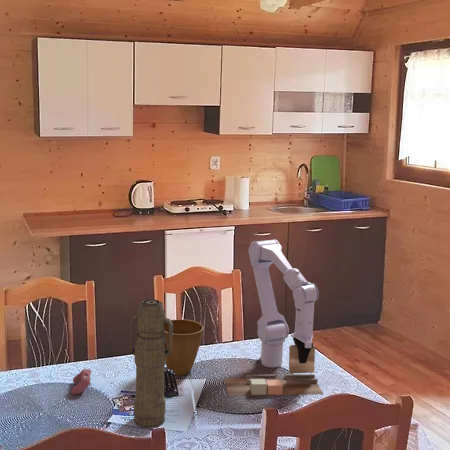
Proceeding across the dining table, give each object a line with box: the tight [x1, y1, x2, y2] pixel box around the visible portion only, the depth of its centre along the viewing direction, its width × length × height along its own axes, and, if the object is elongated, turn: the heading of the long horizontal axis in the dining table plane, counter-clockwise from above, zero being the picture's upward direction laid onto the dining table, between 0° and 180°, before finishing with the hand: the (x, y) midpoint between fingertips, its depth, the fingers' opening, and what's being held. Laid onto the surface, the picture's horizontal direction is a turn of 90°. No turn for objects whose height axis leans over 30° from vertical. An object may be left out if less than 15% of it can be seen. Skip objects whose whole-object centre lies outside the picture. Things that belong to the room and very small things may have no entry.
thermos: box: [129, 298, 173, 429], centre depth 182 cm, size 9×12×35 cm
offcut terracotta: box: [266, 380, 283, 396], centre depth 204 cm, size 4×5×3 cm
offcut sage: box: [250, 379, 267, 396], centre depth 203 cm, size 4×5×4 cm
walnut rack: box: [223, 373, 324, 397], centre depth 208 cm, size 13×30×2 cm, turn 96°
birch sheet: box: [288, 344, 316, 374], centre depth 212 cm, size 2×8×9 cm, turn 96°
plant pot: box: [164, 318, 204, 377], centre depth 218 cm, size 15×15×16 cm
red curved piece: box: [70, 368, 92, 396], centre depth 203 cm, size 10×5×7 cm, turn 10°
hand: (301, 361), depth 212 cm, fingers closed on birch sheet, 2 cm apart
